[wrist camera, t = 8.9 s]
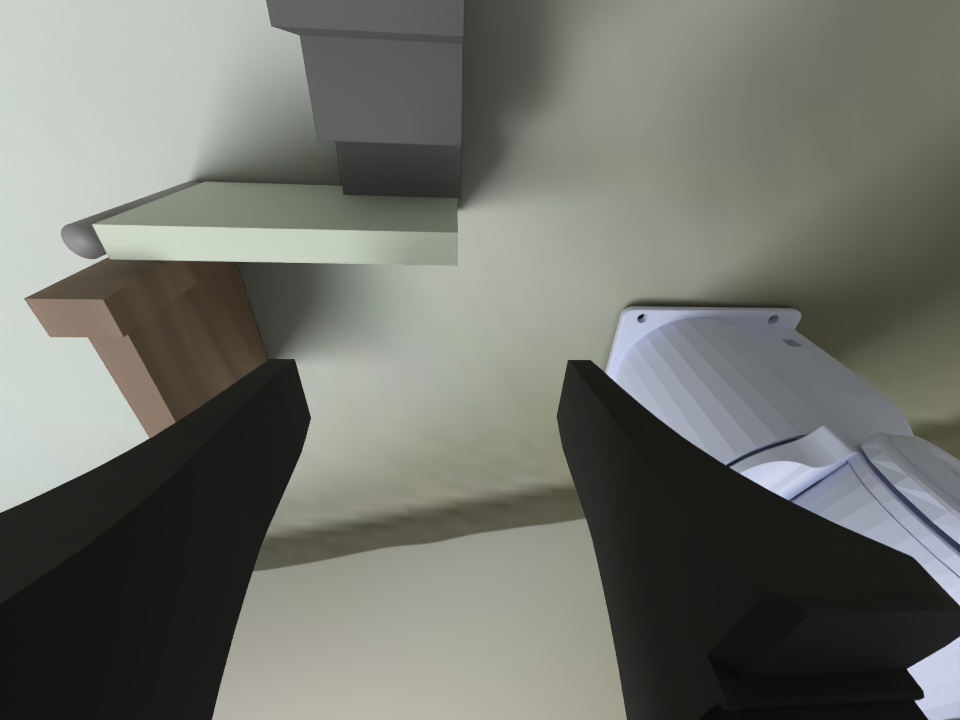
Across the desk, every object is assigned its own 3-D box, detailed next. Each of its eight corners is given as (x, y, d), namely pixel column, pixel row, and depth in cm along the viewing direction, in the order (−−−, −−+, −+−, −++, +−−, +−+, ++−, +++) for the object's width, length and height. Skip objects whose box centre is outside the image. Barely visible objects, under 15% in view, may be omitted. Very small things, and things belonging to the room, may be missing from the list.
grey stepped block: (323, -53, 13) (237, -143, 8) (461, -44, 13) (465, -125, 8) (354, 183, 17) (311, 225, 12) (459, 187, 17) (461, 229, 12)
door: (188, 206, 16) (73, 258, 11) (179, 180, 16) (53, 223, 11) (457, 213, 17) (457, 265, 12) (457, 189, 16) (457, 232, 12)
